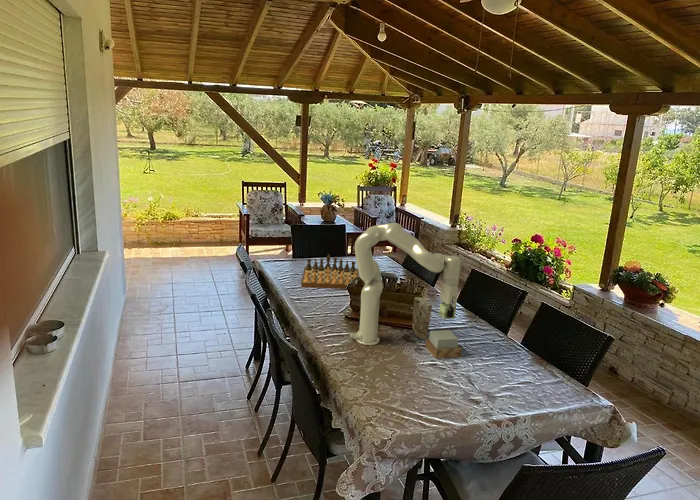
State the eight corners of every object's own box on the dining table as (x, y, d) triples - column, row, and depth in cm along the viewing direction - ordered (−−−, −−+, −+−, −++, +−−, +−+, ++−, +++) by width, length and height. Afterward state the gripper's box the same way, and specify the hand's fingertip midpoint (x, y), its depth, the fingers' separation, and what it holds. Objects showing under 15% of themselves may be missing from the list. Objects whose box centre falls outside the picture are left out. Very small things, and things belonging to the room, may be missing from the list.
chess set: (359, 290, 356) (361, 270, 352) (301, 287, 354) (302, 267, 350) (357, 273, 394) (358, 254, 391) (304, 270, 393) (305, 251, 389)
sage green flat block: (437, 349, 261) (438, 339, 260) (428, 339, 271) (429, 330, 270) (457, 348, 264) (458, 338, 262) (448, 338, 274) (449, 330, 273)
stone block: (430, 339, 283) (433, 304, 278) (418, 339, 281) (421, 305, 276) (419, 329, 295) (423, 295, 290) (408, 330, 293) (411, 296, 288)
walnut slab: (435, 359, 260) (436, 350, 259) (424, 347, 273) (425, 338, 272) (461, 358, 264) (462, 349, 263) (449, 346, 277) (450, 337, 276)
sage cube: (443, 319, 260) (445, 307, 259) (438, 314, 266) (440, 303, 264) (454, 318, 262) (456, 307, 260) (449, 314, 267) (450, 303, 266)
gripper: (436, 275, 266) (433, 308, 271) (451, 286, 250) (447, 321, 255) (450, 275, 268) (446, 308, 273) (465, 286, 252) (461, 320, 257)
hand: (447, 314), depth 264 cm, fingers closed on sage cube, 6 cm apart
